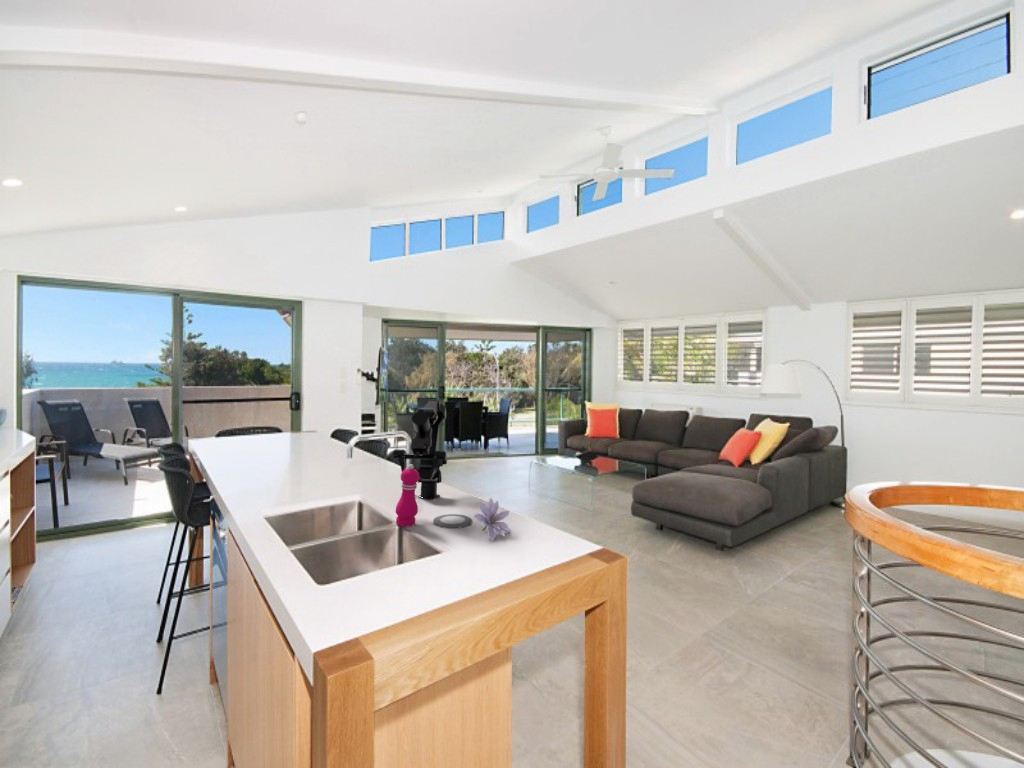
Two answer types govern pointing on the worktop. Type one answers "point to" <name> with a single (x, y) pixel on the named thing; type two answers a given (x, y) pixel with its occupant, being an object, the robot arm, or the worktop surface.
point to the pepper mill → (407, 498)
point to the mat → (452, 521)
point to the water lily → (493, 518)
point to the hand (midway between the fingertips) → (416, 479)
